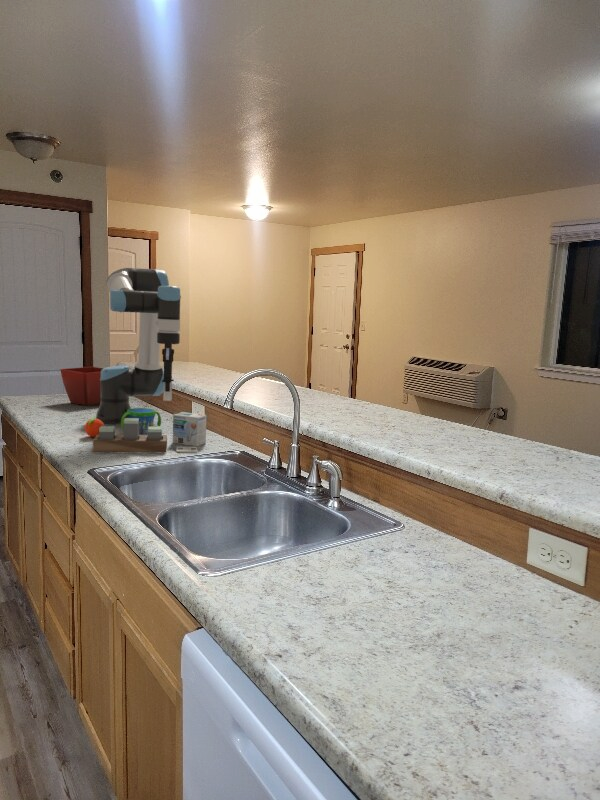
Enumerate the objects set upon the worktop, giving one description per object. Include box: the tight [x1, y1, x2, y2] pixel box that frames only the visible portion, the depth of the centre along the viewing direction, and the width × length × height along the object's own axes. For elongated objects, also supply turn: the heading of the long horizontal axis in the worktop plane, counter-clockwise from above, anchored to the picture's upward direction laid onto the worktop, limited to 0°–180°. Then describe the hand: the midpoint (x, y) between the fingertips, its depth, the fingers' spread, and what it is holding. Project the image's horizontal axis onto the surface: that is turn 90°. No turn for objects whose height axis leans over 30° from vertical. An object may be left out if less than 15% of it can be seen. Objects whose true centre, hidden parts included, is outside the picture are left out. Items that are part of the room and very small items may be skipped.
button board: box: [92, 434, 168, 453], centre depth 208 cm, size 10×24×4 cm, turn 101°
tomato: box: [84, 417, 105, 438], centre depth 223 cm, size 8×7×7 cm
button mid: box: [123, 418, 139, 440], centre depth 207 cm, size 5×5×7 cm
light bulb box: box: [172, 411, 207, 447], centre depth 221 cm, size 11×7×11 cm, turn 70°
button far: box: [148, 426, 163, 440], centre depth 209 cm, size 5×5×7 cm
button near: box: [99, 425, 116, 439], centre depth 206 cm, size 5×5×7 cm
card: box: [176, 446, 198, 454], centre depth 210 cm, size 6×7×1 cm
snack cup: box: [120, 407, 162, 435], centre depth 228 cm, size 16×10×10 cm
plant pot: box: [60, 366, 105, 406], centre depth 294 cm, size 19×19×17 cm
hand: (167, 400), depth 207 cm, fingers closed
